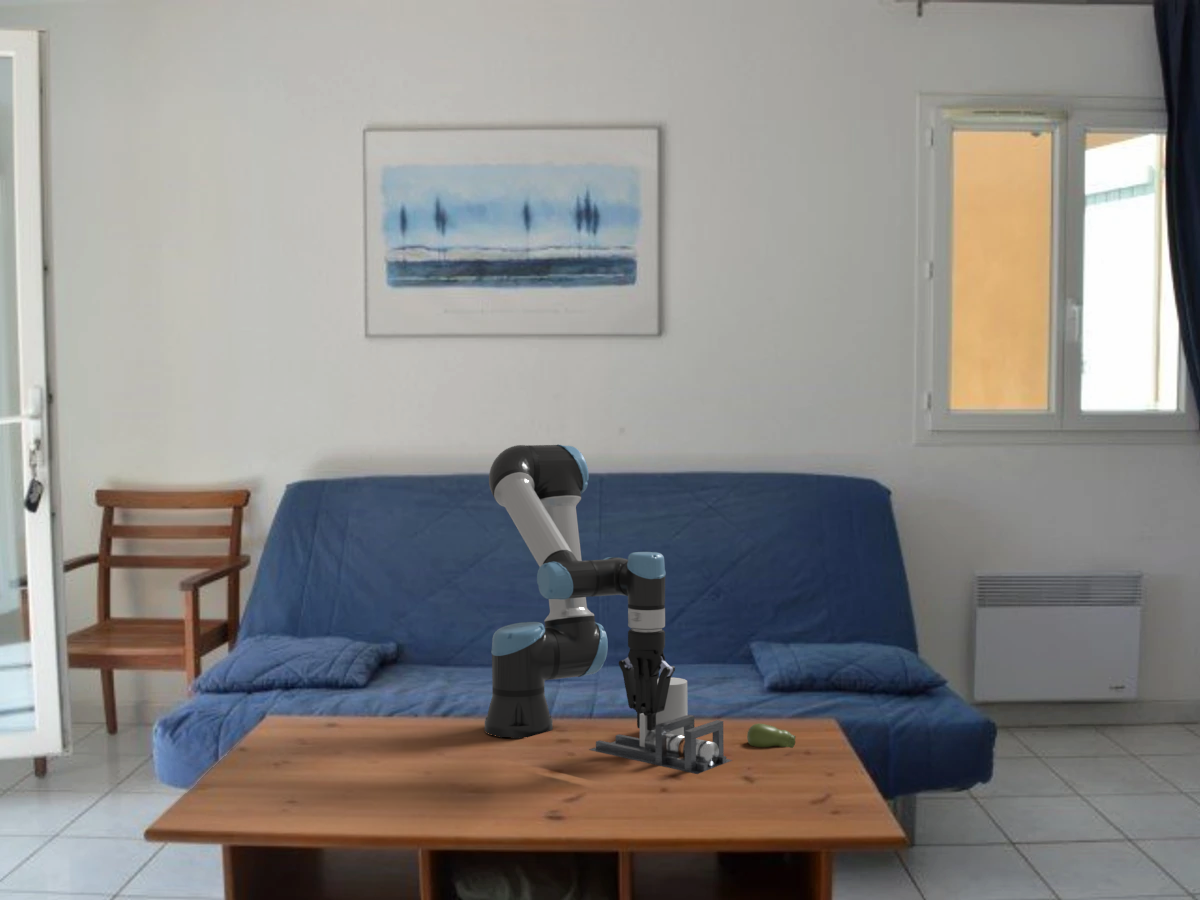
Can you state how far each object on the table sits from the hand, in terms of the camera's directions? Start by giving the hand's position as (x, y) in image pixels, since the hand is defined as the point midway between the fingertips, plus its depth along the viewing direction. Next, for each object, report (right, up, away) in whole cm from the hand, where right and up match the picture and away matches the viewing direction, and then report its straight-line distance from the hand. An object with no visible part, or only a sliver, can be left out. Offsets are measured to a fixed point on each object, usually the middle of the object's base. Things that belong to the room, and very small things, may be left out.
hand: (646, 745), depth 221 cm
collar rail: (+2, -2, -2) cm, 4 cm away
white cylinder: (+6, -3, +16) cm, 17 cm away
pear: (+26, -3, +6) cm, 27 cm away
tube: (+6, -1, -5) cm, 8 cm away
